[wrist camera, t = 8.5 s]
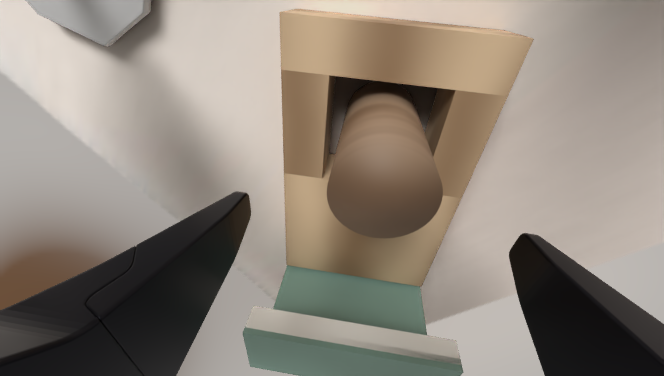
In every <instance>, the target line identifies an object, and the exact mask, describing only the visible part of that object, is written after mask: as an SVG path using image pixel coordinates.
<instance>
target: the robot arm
mask: <svg viewBox="0 0 664 376" xmlns="http://www.w3.org/2000/svg"><path fill="white" fill-rule="evenodd" d="M250 216H251V208H250V200H249V195H248V194H247V193H244V192H234V193H232V194H230V195H228V196H226V197H225V198H223V199H221V200H219V201H217V202H215V203H213V204H212V205H210V206H208V207H206V208H204V209H202V210H200V211H199V212H197V213H195V214H193V215H191V216H189V217H188V218H186V219H184V220H182V221H180V222H178V223H176V224H175V225H173V226H171V227H169V228H167V229H165V230H164V231H162V232H160V233H158V234H156V235H155V236H152V237H151V238H149V239H147V240H145V241H143V242H141V243H139V244H138V245H137V246H136V247H135V246H134V247H132V248H130V249H128V250H126V251H124V252H123V253H121V254H119V255H117V256H115V257H113V258H111V259H109V260H107V261H105V262H103V263H102V264H100V265H98V266H95V267H93V268H91V269H89V270H87V271H85V272H83V273H81V274H79V275H77V276H75V277H72V278H70V279H68V280H66V281H64V282H62V283H59V284H57V285H55V286H53V287H51V288H49V289H47V290H44V291H42V292H40V293H38V294H36V295H34V296H31V297H29V298H27V299H25V300H23V301H21V302H19V303H16V304H14V305H12V306H10V307H7V308H5V309H2V310H0V376H176V374H177V373H178V371H179V369H180V367H181V365H182V363H183V361H184V359H185V357H186V355H187V353H188V351H189V349H190V347H191V345H192V343H193V341H194V339H195V337H196V335H197V333H198V331H199V329H200V327H201V325H202V323H203V321H204V319H205V317H206V315H207V313H208V311H209V309H210V307H211V305H212V303H213V301H214V299H215V297H216V295H217V293H218V291H219V289H220V287H221V285H222V283H223V282H224V279H225V277H226V276H227V274H228V272H229V270H230V268H231V266H232V264H233V262H234V259H235V257H236V255H237V253H238V250H239V247H240V244H241V242H242V239H243V236H244V233H245V231H246V228H247V225H248V222H249V220H250ZM509 259H510V263H511V268H512V272H513V276H514V281H515V285H516V290H517V294H518V298H519V301H520V305H521V308H522V311H523V314H524V317H525V320H526V322H527V325H528V328H529V331H530V334H531V337H532V340H533V343H534V346H535V348H536V351H537V354H538V357H539V360H540V363H541V366H542V369H543V371H544V375H545V376H664V324H663V323H661V322H660V321H659V320H657V319H656V318H654V317H653V316H652V315H650V314H649V313H647V312H646V311H644V310H643V309H642V308H640V307H639V306H637V305H636V304H635V303H633V302H632V301H630V300H629V299H627V298H626V297H625V296H623V295H622V294H620V293H619V292H617V291H616V290H615V289H613V288H612V287H610V286H609V285H608V284H606V283H605V282H603V281H602V280H600V279H599V278H598V277H596V276H595V275H593V274H592V273H591V272H589V271H588V270H586V269H585V268H584V267H582V266H581V265H579V264H578V263H577V262H575V261H574V260H572V259H571V258H569V257H568V256H567V255H565V254H564V253H562V252H561V251H560V250H558V249H557V248H555V247H554V246H552V245H551V244H550V243H548V242H547V241H545V240H544V239H543V238H541V237H540V236H538V235H534V234H528V233H523V234H521V235H520V236H519V238H518V239H517V241H516V242H515V244H514V245H513V247H512V248H511V250H510V252H509Z"/></svg>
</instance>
